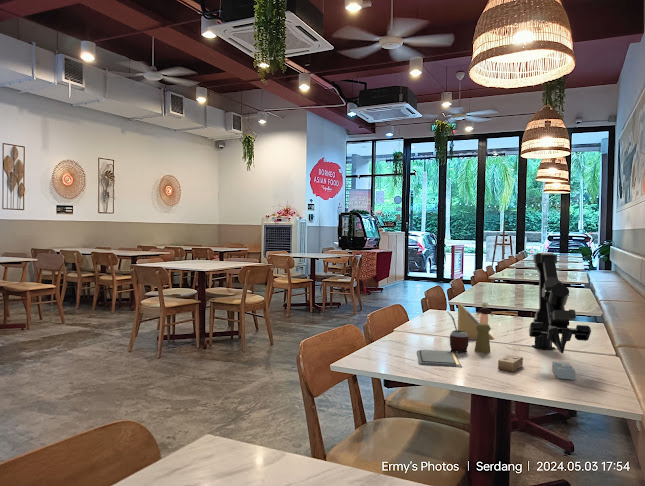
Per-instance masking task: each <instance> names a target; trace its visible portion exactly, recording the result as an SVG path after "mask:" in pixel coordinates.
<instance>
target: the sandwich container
mask: <svg viewBox="0 0 645 486" xmlns="http://www.w3.org/2000/svg"><path fill="white" fill-rule="evenodd" d="M457 304H458V305H457V306H458V307H457V330H460V331H465V332H466V333H467V335H468V339H477V333H478V331H477V329H476V326H477V324H479V323H480V321H479V320H477V319H476V318H475V316H473V315H472V314H471V312H470V311H469V310H468V309H467V308H466V307H465V306H464V305H462V303H461V302H459V301H458V303H457ZM488 333H489V340H495V338H494V336H493V335H492V334H491V333H490V331H489V332H488Z"/></svg>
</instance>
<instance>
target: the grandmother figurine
mask: <svg viewBox="0 0 645 486" xmlns="http://www.w3.org/2000/svg"><path fill="white" fill-rule="evenodd" d="M488 307H489V302H487V301H486V300H484V301H482V302H481V308H480V309H479V310H478V311H477V313H476V316H479V315H480V316H479V323H486V324H488V325H489V315H490V317H494V315H493V313H492V312H493V311H492V310H491V309H489V308H488Z"/></svg>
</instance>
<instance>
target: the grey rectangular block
mask: <svg viewBox="0 0 645 486" xmlns="http://www.w3.org/2000/svg"><path fill="white" fill-rule="evenodd" d="M551 371H552V372H553V373H554V375H555V376H556V378H557V379H562V380H572V381H576V370H575V368H573V366H572V365H571V364H570V362H565V361H554V360H552V361H551Z"/></svg>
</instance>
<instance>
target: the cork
mask: <svg viewBox="0 0 645 486" xmlns="http://www.w3.org/2000/svg"><path fill="white" fill-rule="evenodd" d="M476 329H477V331H478V333H477V338H475V339H476V341H475V346H474V352H477V353H480V354H489V353H491V343H490V339H489V333H490V331H491V326H490V325H489V323H488V324H486V323H480V322H479V324H477V326H476ZM488 332H489V333H488Z"/></svg>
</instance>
